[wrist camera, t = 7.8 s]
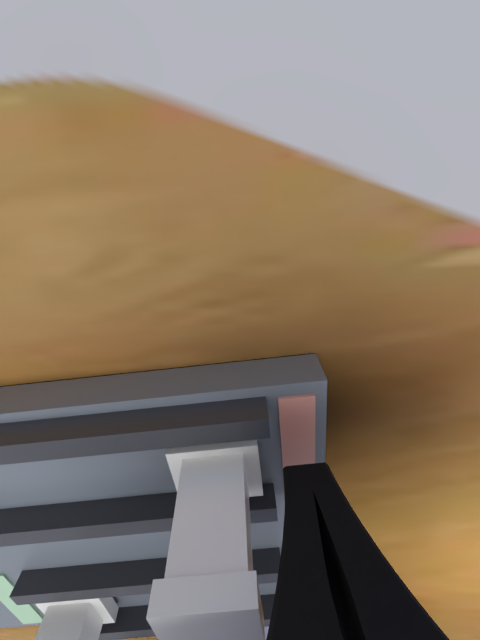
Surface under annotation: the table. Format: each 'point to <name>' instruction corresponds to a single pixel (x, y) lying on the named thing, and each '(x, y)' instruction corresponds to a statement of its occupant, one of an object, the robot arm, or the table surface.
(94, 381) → the panel
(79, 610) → the breaker
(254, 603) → the breaker
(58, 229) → the table surface
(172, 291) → the table surface
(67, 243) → the table surface
